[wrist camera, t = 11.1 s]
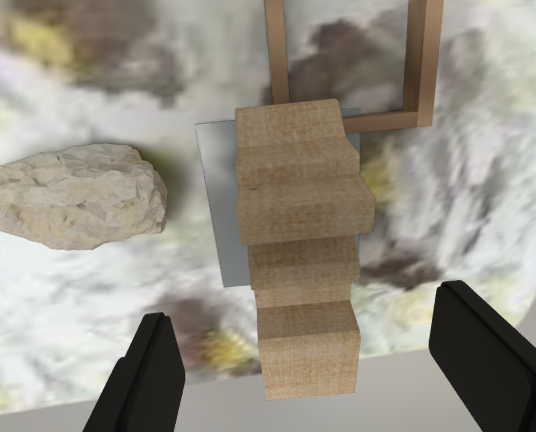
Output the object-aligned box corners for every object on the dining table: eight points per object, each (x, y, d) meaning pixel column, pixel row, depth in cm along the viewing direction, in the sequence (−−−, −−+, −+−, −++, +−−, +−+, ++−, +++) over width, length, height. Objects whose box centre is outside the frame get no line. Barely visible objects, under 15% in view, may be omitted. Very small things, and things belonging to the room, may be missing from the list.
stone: (157, 219, 29) (187, 260, 21) (-11, 253, 23) (-61, 328, 15) (143, 136, 27) (170, 145, 18) (-50, 152, 21) (-136, 175, 13)
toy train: (325, 90, 19) (383, 135, 11) (323, 288, 28) (355, 400, 19) (237, 99, 19) (225, 151, 11) (263, 293, 28) (268, 408, 20)
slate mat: (196, 124, 23) (195, 124, 22) (358, 107, 22) (360, 107, 22) (224, 284, 28) (223, 287, 27) (356, 272, 28) (358, 274, 27)
